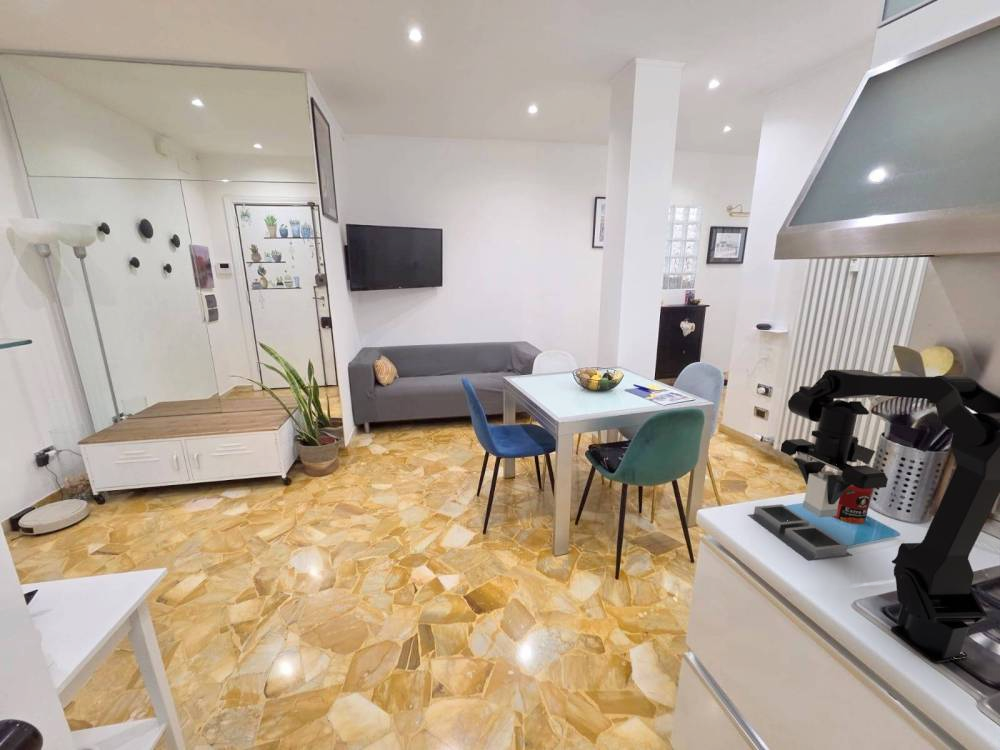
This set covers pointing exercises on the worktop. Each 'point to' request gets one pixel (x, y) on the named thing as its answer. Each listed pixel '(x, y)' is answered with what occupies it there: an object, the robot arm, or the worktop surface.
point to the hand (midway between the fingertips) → (821, 498)
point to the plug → (819, 495)
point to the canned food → (854, 505)
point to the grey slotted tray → (798, 533)
